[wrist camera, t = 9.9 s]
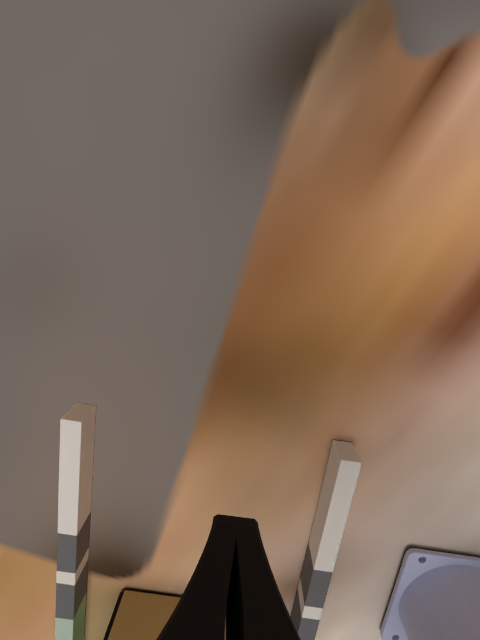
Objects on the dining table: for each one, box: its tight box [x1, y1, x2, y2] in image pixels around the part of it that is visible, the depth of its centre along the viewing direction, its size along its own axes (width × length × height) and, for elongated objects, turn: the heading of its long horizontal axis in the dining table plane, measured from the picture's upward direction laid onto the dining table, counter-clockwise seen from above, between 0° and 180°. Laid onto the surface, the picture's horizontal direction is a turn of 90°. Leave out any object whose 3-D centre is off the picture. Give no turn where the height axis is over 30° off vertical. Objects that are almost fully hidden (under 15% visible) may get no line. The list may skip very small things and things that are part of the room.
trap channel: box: [55, 403, 362, 640], centre depth 24 cm, size 17×26×2 cm
